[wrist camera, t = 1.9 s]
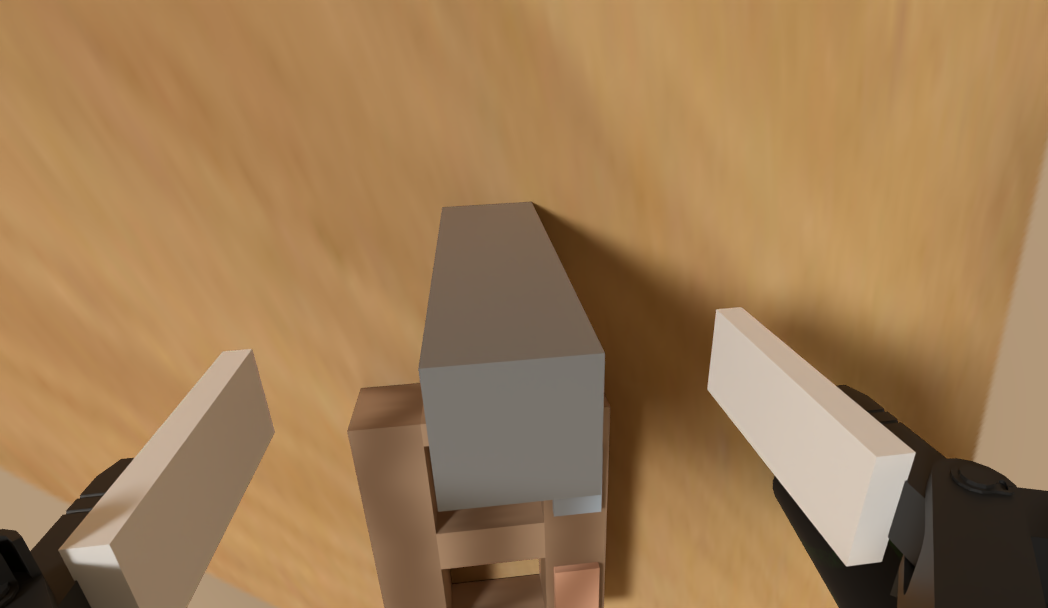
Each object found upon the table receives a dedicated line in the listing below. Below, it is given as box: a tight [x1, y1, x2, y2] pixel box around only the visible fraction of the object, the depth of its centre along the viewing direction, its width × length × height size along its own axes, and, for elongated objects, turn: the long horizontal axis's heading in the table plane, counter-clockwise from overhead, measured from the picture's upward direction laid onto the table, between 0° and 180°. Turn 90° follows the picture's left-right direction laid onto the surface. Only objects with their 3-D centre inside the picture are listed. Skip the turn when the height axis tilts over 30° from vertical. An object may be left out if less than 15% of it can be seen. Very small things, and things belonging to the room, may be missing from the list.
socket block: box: [347, 383, 610, 608], centre depth 29 cm, size 12×16×4 cm
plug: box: [419, 202, 605, 512], centre depth 19 cm, size 4×4×14 cm
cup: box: [773, 476, 903, 608], centre depth 28 cm, size 8×8×12 cm
